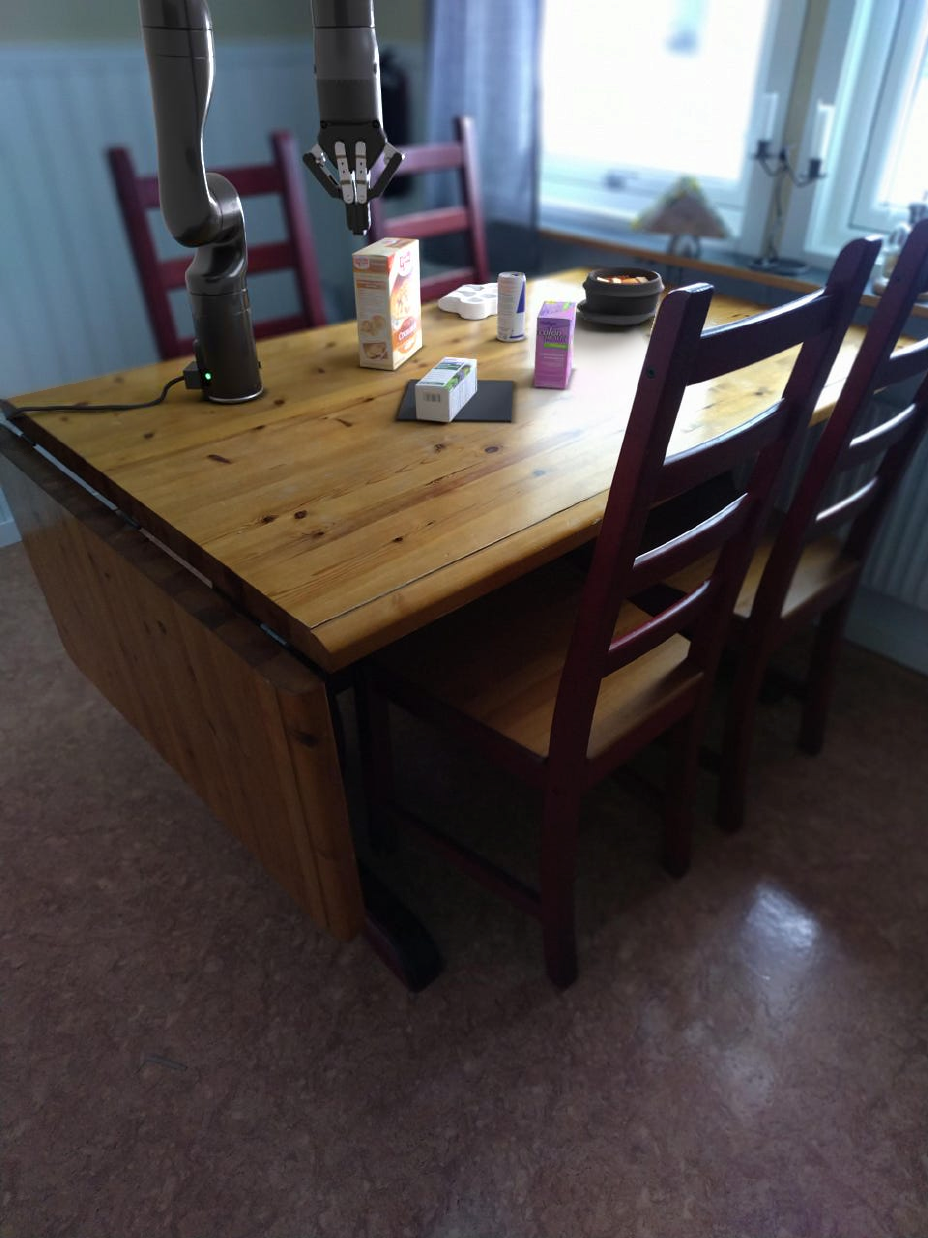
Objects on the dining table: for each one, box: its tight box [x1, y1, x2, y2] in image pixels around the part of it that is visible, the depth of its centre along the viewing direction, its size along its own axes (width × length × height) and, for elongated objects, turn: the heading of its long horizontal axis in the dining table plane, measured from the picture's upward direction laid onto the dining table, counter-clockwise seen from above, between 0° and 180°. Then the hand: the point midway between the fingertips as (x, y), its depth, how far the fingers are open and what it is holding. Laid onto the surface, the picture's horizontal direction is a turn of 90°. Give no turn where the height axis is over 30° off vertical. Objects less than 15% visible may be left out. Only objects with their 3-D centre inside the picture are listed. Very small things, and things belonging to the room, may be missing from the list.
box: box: [533, 300, 578, 390], centre depth 146 cm, size 10×6×12 cm, turn 168°
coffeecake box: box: [351, 236, 423, 371], centre depth 154 cm, size 15×7×20 cm, turn 162°
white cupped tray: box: [437, 282, 498, 321], centre depth 186 cm, size 3×18×15 cm
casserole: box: [576, 266, 666, 326], centre depth 177 cm, size 25×19×8 cm
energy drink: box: [496, 271, 527, 343], centre depth 165 cm, size 5×5×12 cm
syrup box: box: [415, 356, 478, 423], centre depth 136 cm, size 6×6×14 cm
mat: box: [396, 378, 514, 423], centre depth 140 cm, size 18×18×1 cm
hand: (359, 233), depth 109 cm, fingers closed
